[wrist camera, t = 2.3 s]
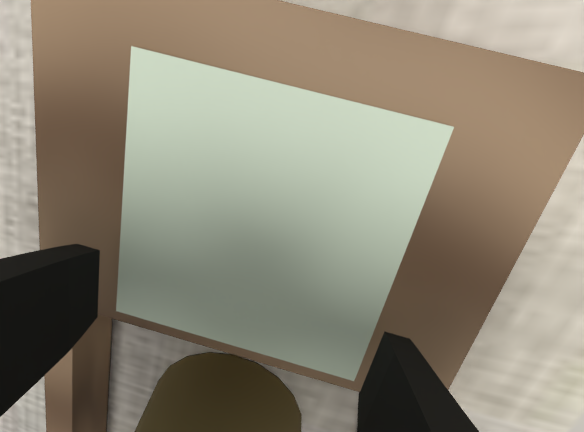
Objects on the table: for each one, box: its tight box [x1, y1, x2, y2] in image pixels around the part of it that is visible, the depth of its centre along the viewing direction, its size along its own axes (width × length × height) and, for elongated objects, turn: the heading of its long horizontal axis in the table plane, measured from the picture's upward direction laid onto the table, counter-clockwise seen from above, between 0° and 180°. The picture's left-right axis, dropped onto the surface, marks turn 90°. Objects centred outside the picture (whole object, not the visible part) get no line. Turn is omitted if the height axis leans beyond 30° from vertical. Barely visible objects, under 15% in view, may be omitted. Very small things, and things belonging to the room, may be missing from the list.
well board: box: [31, 0, 584, 432], centre depth 11 cm, size 20×12×2 cm, turn 167°
